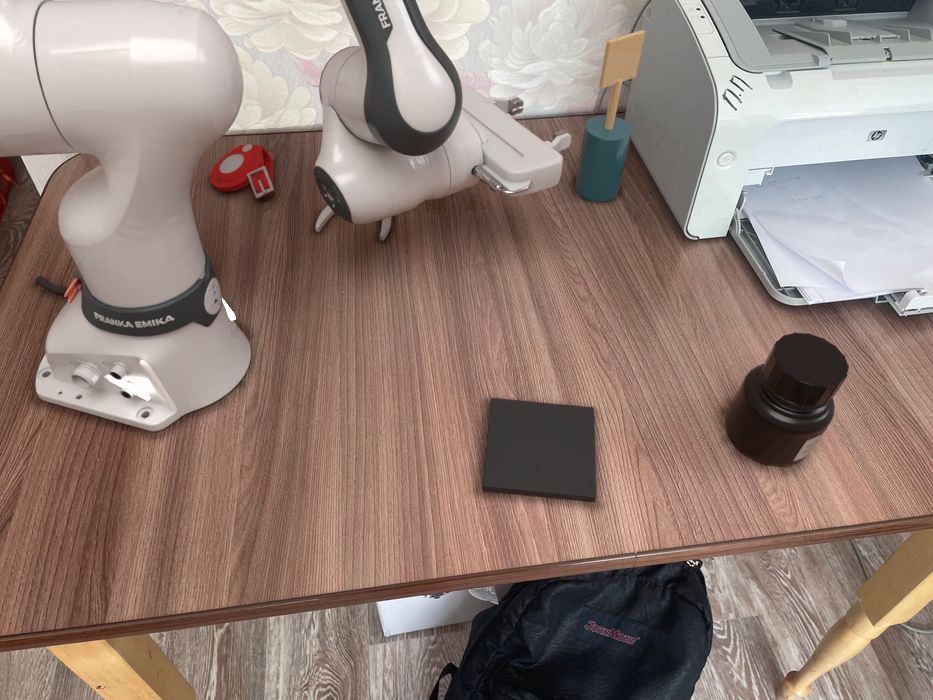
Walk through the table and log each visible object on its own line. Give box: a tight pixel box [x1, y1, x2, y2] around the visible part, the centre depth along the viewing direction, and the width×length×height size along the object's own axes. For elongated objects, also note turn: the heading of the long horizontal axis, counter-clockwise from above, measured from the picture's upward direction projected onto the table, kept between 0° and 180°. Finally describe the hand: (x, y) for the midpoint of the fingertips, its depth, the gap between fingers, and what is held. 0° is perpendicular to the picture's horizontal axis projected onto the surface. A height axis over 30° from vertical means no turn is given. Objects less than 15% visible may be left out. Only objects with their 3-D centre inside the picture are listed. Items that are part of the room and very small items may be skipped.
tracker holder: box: [209, 143, 275, 199], centre depth 102 cm, size 12×4×10 cm
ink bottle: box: [725, 332, 850, 467], centre depth 71 cm, size 10×9×12 cm
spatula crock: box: [574, 29, 646, 203], centre depth 96 cm, size 6×6×22 cm
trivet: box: [482, 397, 597, 503], centre depth 73 cm, size 11×11×1 cm
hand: (543, 120), depth 88 cm, fingers open, 8 cm apart
